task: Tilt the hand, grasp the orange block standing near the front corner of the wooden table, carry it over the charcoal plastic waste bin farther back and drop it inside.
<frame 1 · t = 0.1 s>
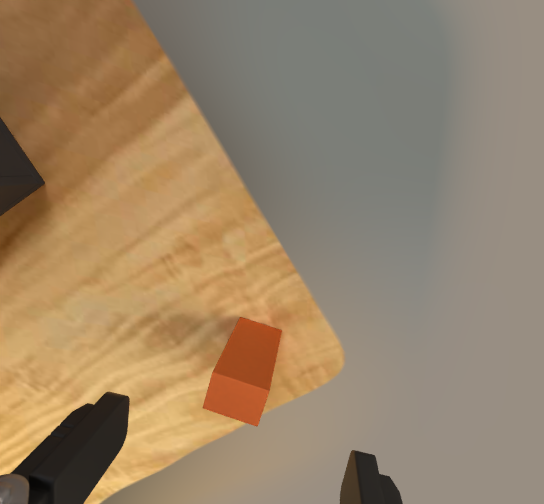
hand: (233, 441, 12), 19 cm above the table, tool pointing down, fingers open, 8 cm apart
orange block: (256, 337, 32), on the table
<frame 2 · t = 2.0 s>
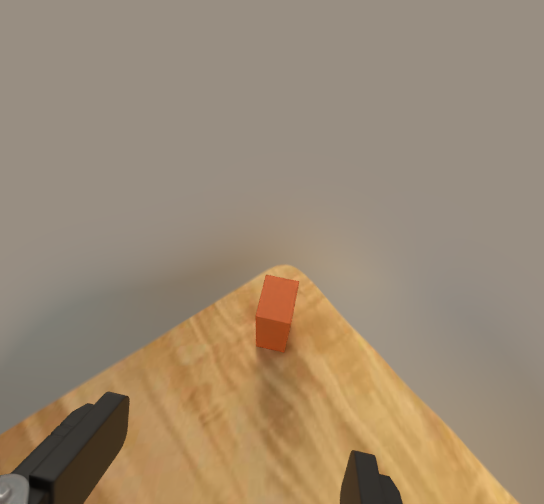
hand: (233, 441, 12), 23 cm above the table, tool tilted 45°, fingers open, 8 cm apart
orange block: (273, 331, 38), on the table
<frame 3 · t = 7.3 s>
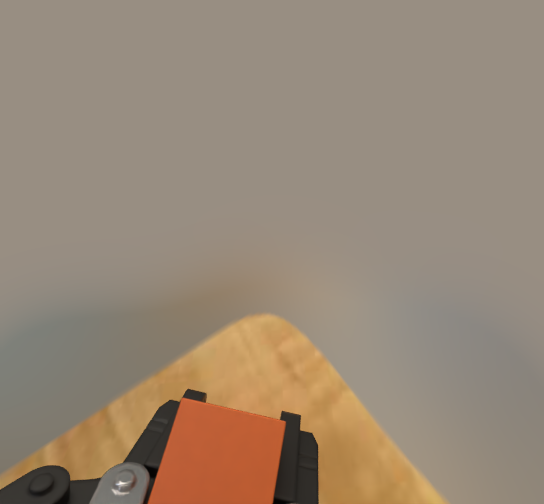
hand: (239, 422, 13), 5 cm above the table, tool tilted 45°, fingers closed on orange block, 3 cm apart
orange block: (233, 484, 16), on the table, touching gripper
when the fingers open (14 cm above the table, at t = 16.9 s): orange block drops 9 cm and tips over, resting on bin.
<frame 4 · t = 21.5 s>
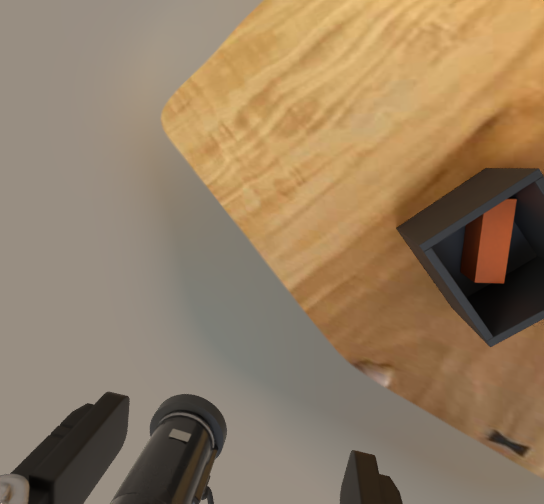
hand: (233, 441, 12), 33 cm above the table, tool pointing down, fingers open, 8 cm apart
orange block: (480, 277, 40), point 3 cm above the table, tilted 90°, touching bin
bin: (468, 241, 42), on the table
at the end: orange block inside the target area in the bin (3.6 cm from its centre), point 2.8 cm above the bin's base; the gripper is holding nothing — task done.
